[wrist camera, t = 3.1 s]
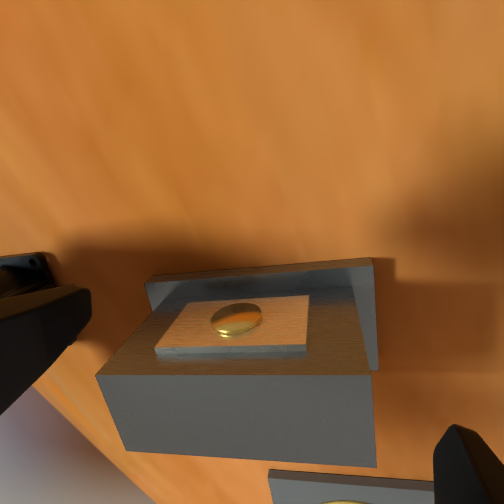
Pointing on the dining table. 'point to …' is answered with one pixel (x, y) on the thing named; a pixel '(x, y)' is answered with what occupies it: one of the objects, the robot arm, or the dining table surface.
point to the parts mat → (346, 489)
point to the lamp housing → (252, 365)
